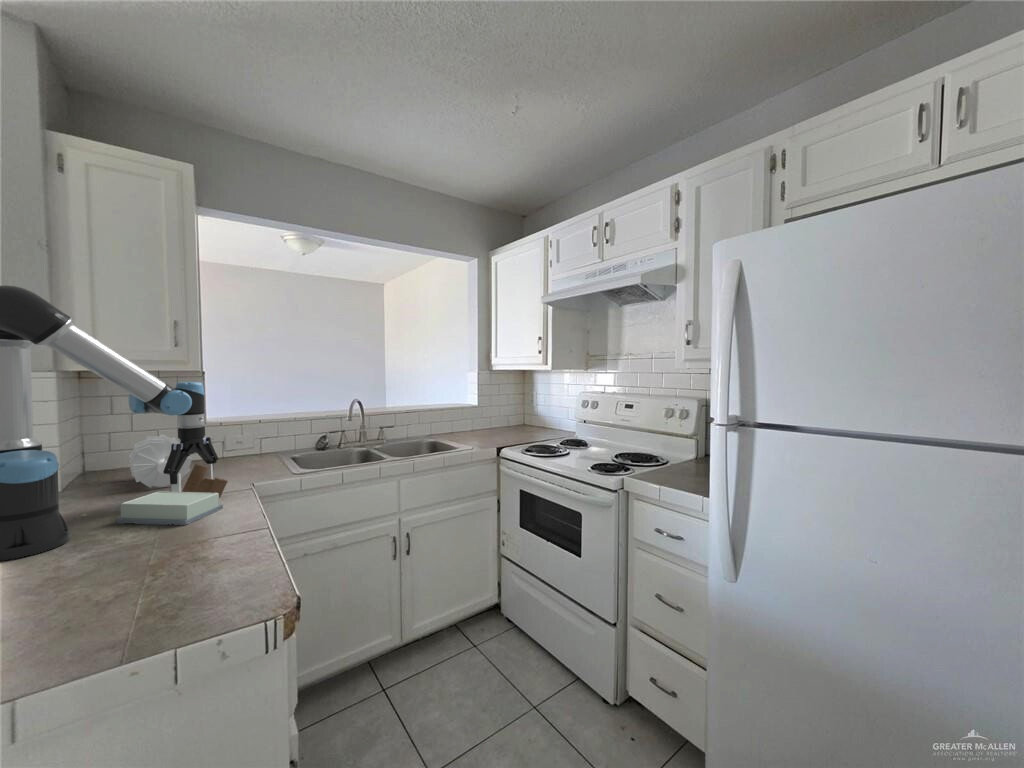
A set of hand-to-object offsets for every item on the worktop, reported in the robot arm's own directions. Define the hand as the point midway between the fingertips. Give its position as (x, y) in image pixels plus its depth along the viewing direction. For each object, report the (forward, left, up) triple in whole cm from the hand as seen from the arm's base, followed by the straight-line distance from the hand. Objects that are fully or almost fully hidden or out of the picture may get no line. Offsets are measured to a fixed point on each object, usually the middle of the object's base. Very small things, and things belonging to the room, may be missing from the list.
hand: (193, 487), depth 143 cm
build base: (-18, -9, -3) cm, 20 cm away
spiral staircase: (+16, +27, -4) cm, 32 cm away
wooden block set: (+2, -1, -4) cm, 4 cm away
